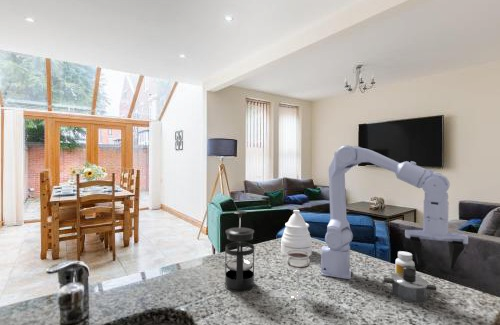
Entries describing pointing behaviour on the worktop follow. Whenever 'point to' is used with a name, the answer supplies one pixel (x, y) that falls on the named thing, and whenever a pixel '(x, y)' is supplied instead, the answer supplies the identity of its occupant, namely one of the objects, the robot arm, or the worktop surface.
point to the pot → (409, 292)
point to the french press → (239, 258)
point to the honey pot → (296, 235)
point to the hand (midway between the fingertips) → (434, 265)
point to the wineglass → (298, 268)
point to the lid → (409, 279)
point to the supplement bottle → (403, 261)
